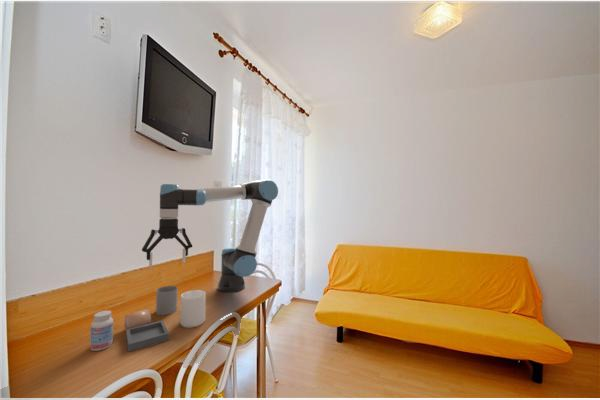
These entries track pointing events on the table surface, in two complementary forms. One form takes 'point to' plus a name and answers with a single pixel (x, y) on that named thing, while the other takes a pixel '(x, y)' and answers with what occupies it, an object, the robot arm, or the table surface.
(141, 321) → the beige block
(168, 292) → the cup
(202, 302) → the mug
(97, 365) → the table surface
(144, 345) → the tray
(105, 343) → the pill bottle
